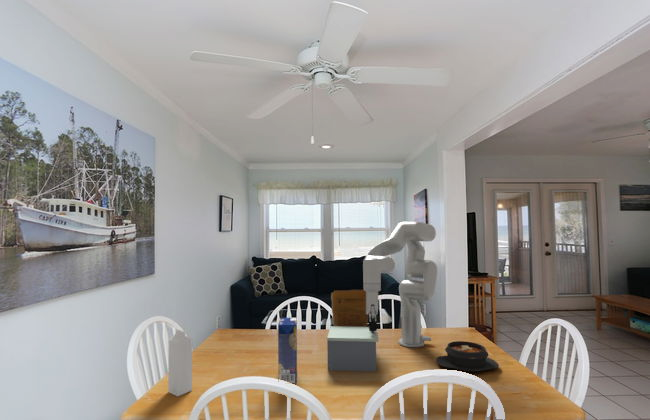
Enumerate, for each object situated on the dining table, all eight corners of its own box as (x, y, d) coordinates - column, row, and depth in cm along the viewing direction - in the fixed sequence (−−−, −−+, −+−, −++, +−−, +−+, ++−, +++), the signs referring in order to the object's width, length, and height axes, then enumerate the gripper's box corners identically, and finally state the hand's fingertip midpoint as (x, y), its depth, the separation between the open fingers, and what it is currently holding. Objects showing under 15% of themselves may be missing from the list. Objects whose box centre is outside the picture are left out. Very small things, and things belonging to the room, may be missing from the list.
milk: (183, 386, 138) (183, 327, 139) (192, 390, 134) (192, 329, 135) (167, 392, 133) (168, 330, 134) (177, 397, 129) (177, 333, 130)
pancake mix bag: (370, 349, 175) (369, 290, 176) (331, 347, 179) (330, 290, 180) (371, 344, 182) (370, 288, 183) (333, 343, 185) (332, 287, 186)
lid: (376, 329, 166) (376, 314, 166) (378, 341, 149) (378, 324, 149) (330, 328, 168) (330, 313, 168) (327, 340, 151) (327, 323, 152)
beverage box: (297, 371, 150) (296, 317, 151) (296, 382, 140) (296, 324, 140) (280, 371, 150) (280, 317, 151) (278, 383, 139) (278, 325, 140)
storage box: (374, 357, 165) (374, 330, 166) (376, 371, 149) (375, 341, 150) (330, 356, 167) (330, 329, 168) (327, 370, 151) (327, 340, 152)
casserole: (441, 375, 145) (441, 354, 146) (431, 358, 164) (431, 339, 164) (506, 376, 144) (506, 355, 144) (489, 359, 162) (488, 339, 162)
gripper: (363, 283, 168) (363, 323, 167) (363, 290, 150) (364, 334, 150) (379, 283, 167) (380, 323, 166) (382, 290, 150) (382, 334, 149)
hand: (372, 328), depth 158 cm, fingers open, 5 cm apart
